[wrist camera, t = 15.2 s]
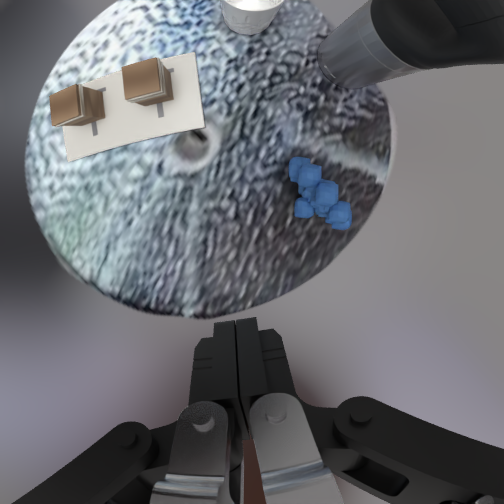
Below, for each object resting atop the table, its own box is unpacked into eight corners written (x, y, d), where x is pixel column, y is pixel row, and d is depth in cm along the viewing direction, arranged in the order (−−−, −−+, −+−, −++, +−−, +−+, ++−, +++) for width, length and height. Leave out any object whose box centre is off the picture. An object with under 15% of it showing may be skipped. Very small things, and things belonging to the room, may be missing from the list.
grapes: (258, 175, 39) (270, 190, 28) (295, 144, 38) (321, 147, 27) (309, 233, 43) (336, 266, 32) (343, 204, 42) (380, 228, 31)
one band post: (106, 118, 33) (79, 115, 25) (81, 126, 33) (51, 127, 25) (102, 91, 31) (76, 83, 24) (78, 100, 31) (48, 95, 24)
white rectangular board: (205, 127, 36) (204, 127, 35) (72, 161, 36) (67, 162, 34) (195, 55, 32) (194, 51, 31) (64, 94, 32) (59, 94, 30)
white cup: (209, 10, 29) (204, -23, 20) (257, -11, 28) (264, -45, 19) (238, 47, 32) (241, 21, 23) (286, 25, 31) (302, -3, 22)
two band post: (174, 100, 33) (160, 90, 26) (144, 107, 33) (124, 100, 25) (171, 71, 31) (157, 56, 24) (140, 79, 31) (120, 66, 24)
